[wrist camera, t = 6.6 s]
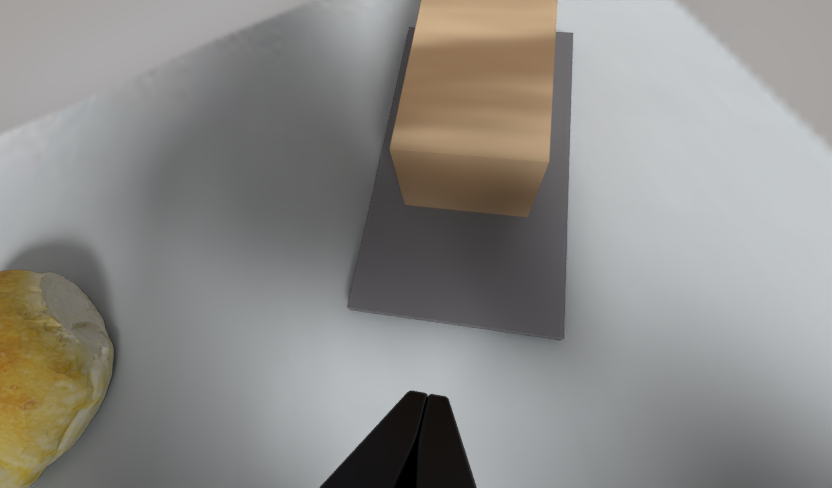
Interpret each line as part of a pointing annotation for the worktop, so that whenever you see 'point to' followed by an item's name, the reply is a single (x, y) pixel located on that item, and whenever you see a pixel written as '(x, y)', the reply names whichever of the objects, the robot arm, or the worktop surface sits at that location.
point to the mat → (471, 242)
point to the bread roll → (47, 371)
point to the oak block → (477, 106)
